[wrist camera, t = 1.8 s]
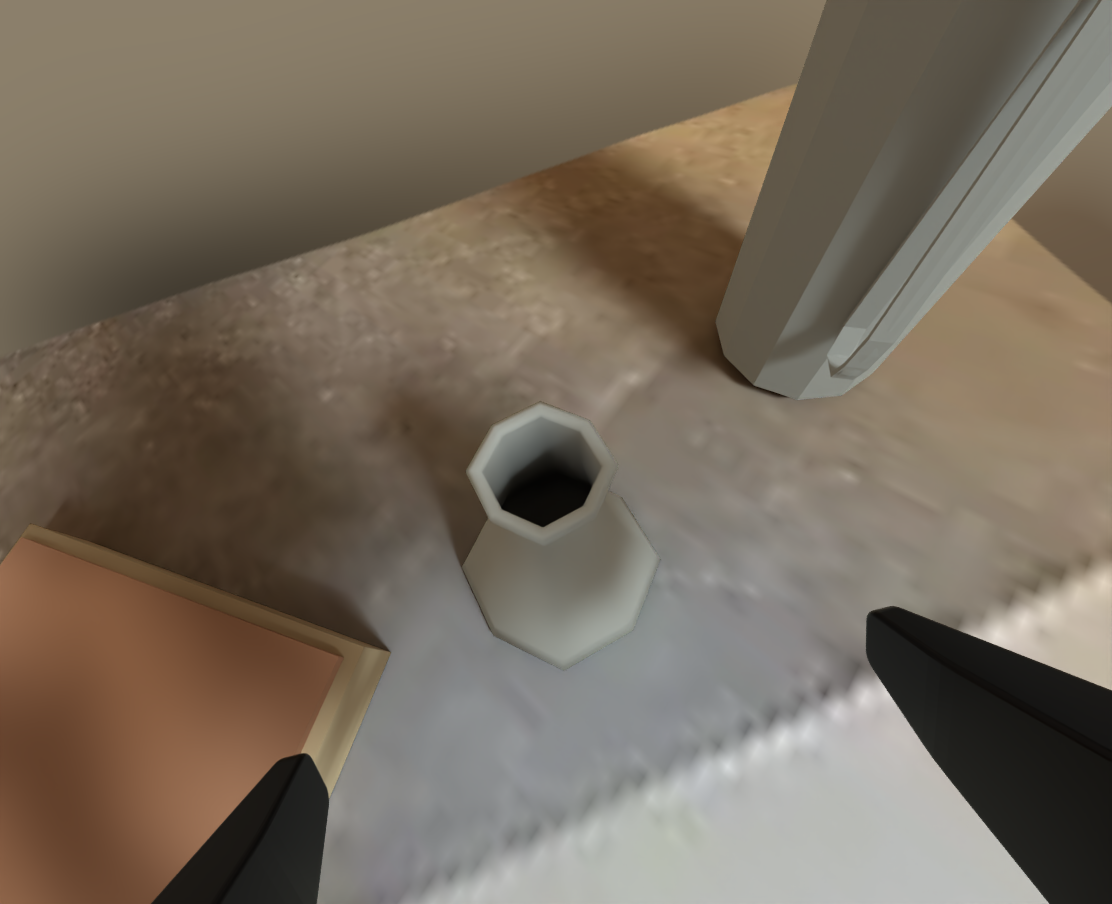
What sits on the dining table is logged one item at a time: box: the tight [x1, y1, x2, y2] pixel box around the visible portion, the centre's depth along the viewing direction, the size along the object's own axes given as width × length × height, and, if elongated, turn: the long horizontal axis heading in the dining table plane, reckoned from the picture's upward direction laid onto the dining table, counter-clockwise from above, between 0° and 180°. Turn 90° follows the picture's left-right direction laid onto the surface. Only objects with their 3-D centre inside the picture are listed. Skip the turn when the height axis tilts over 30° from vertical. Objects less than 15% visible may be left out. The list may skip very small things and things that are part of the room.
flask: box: [462, 401, 661, 671], centre depth 16 cm, size 7×7×10 cm
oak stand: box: [0, 523, 391, 904], centre depth 17 cm, size 14×14×3 cm
